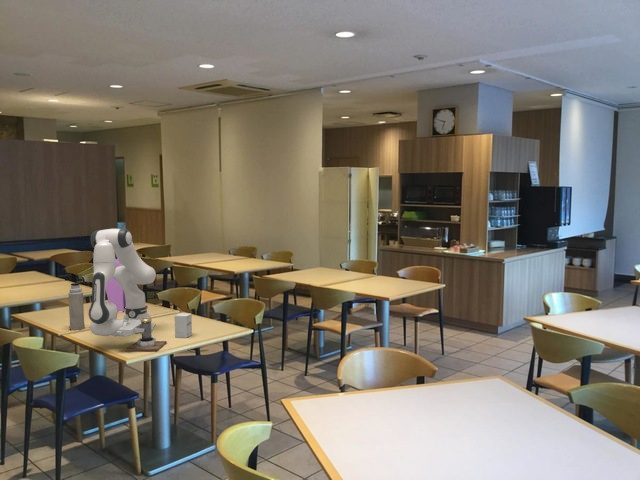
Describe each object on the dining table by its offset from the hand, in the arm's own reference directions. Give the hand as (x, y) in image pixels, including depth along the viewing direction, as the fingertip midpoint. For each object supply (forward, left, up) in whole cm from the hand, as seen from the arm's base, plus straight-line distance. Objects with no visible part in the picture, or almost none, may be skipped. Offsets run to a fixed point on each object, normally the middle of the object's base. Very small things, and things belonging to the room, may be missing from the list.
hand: (147, 327), depth 289 cm
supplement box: (-23, +12, -11) cm, 28 cm away
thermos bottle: (-37, -57, -11) cm, 68 cm away
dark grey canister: (0, -1, -9) cm, 9 cm away
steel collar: (0, -1, -9) cm, 9 cm away
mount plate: (0, -1, -10) cm, 11 cm away
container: (-92, -53, -11) cm, 106 cm away
